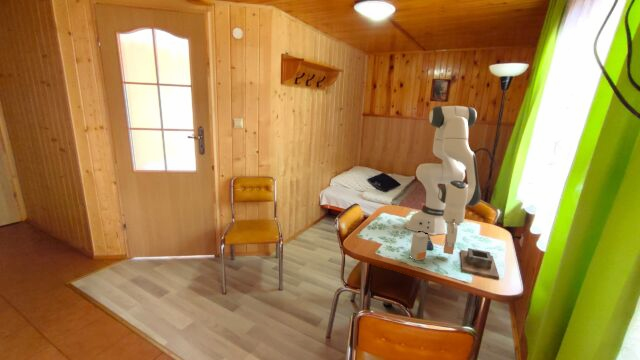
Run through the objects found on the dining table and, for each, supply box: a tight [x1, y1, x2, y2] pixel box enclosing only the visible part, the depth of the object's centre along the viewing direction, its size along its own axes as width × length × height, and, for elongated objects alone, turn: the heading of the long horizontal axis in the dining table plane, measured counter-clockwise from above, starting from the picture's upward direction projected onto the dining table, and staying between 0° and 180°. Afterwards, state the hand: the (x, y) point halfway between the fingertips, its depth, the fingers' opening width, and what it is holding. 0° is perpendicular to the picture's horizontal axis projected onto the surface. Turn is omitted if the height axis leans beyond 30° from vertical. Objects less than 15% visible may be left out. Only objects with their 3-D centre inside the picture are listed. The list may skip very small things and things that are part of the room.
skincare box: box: [409, 232, 430, 261], centre depth 139 cm, size 6×4×12 cm
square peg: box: [443, 233, 455, 255], centre depth 140 cm, size 4×4×8 cm
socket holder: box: [459, 247, 500, 280], centre depth 136 cm, size 14×20×5 cm
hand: (449, 243), depth 140 cm, fingers closed on square peg, 4 cm apart
